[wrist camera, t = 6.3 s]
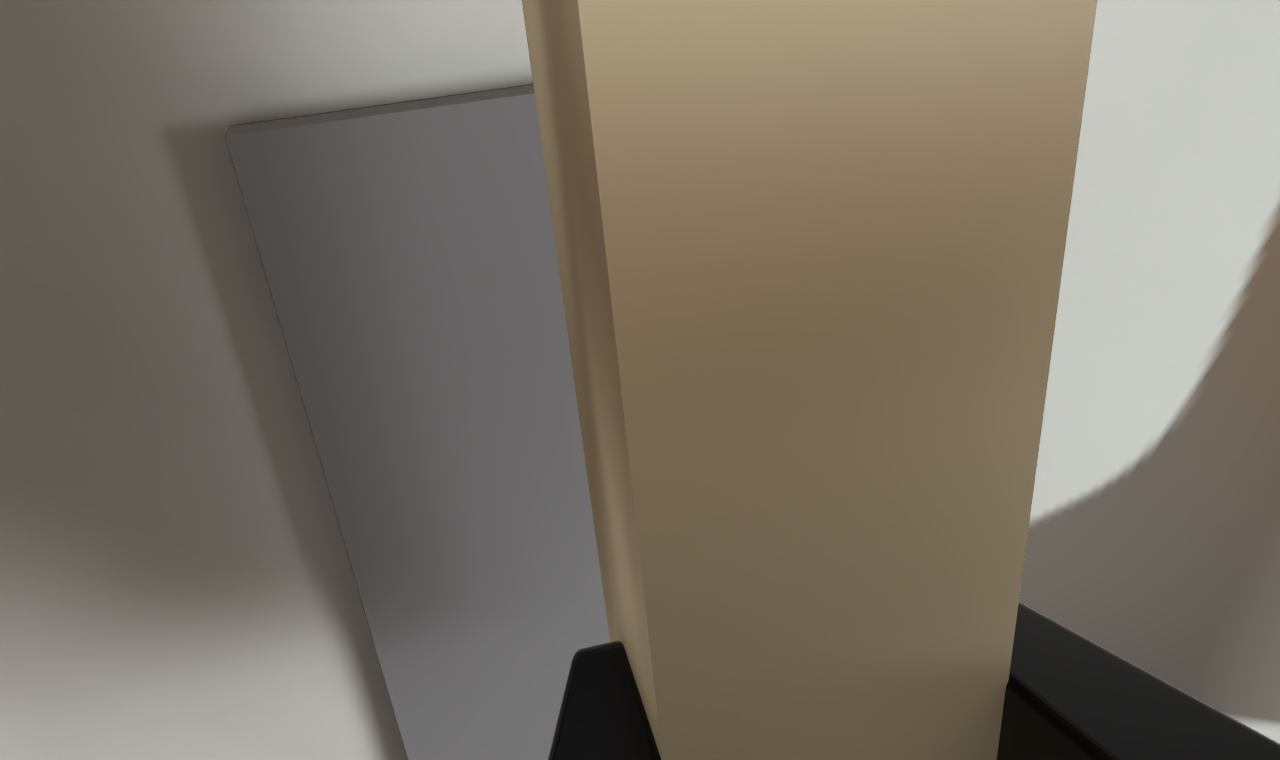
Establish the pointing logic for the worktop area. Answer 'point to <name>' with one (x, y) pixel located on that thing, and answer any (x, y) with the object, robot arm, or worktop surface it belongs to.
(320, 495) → the worktop surface
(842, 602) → the stick
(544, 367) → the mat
